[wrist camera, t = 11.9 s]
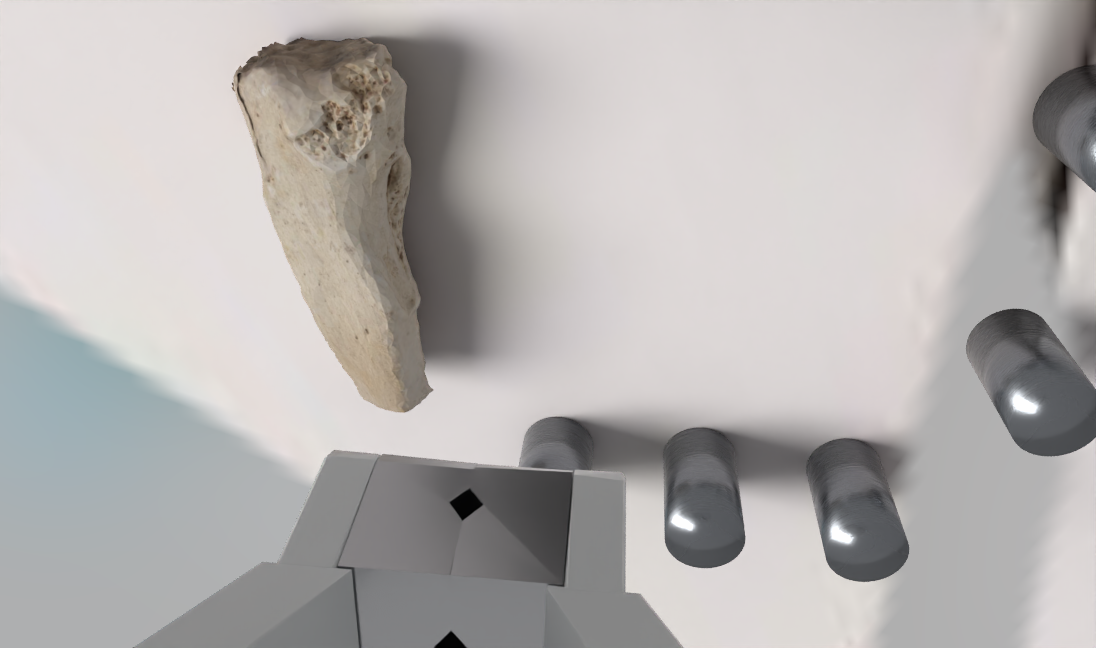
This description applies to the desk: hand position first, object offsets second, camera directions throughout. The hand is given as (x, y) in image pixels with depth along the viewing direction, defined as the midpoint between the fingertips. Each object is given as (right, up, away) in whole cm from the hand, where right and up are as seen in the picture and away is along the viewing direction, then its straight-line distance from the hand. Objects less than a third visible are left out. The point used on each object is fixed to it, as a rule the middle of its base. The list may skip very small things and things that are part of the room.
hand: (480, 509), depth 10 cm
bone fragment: (-6, +7, +26) cm, 27 cm away
